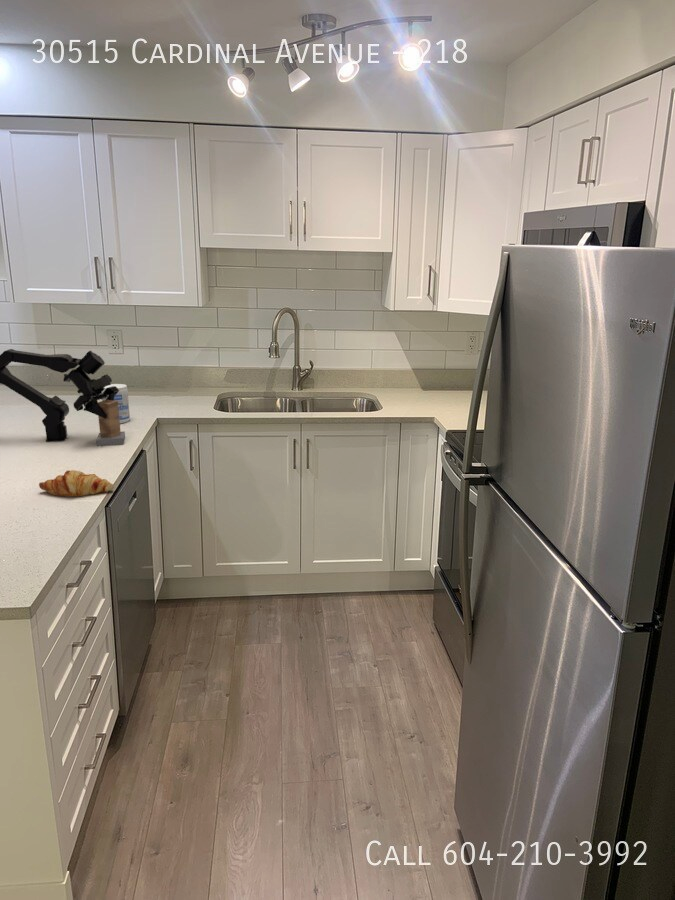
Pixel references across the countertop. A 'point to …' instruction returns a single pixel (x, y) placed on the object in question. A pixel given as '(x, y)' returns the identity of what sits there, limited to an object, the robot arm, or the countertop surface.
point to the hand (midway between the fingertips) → (111, 415)
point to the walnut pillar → (109, 419)
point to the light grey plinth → (111, 440)
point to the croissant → (76, 484)
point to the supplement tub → (121, 402)
